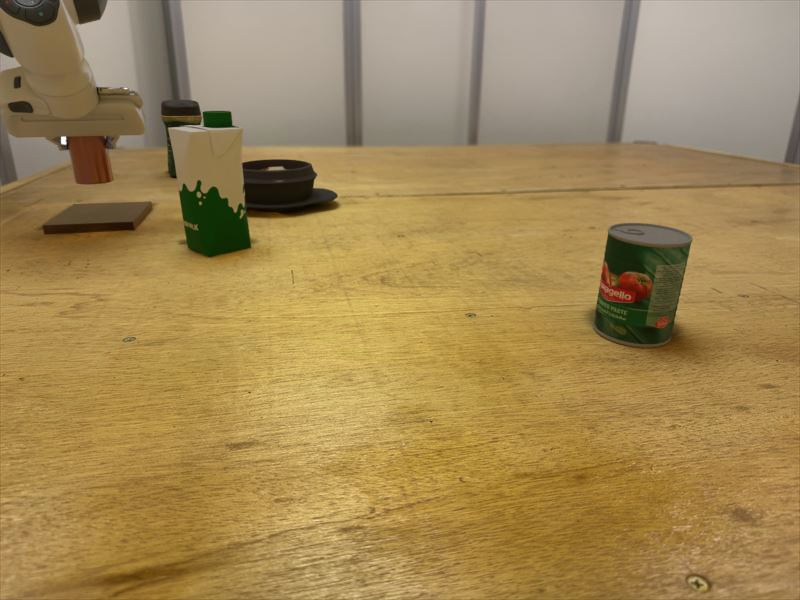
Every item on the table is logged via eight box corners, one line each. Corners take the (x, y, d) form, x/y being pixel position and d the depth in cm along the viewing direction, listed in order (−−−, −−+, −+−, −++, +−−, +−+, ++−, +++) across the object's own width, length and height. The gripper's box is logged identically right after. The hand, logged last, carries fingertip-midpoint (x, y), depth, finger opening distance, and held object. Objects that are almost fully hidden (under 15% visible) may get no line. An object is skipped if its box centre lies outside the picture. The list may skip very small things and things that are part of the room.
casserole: (213, 222, 100) (207, 175, 97) (211, 200, 116) (206, 160, 113) (347, 213, 107) (346, 169, 104) (328, 194, 123) (326, 155, 120)
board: (44, 234, 92) (42, 225, 91) (75, 211, 106) (73, 203, 105) (134, 230, 94) (132, 221, 94) (152, 208, 109) (151, 201, 108)
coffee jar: (171, 179, 138) (160, 100, 131) (167, 174, 144) (156, 99, 137) (211, 176, 142) (202, 100, 135) (205, 171, 149) (196, 98, 142)
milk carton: (259, 248, 86) (247, 112, 78) (204, 260, 80) (185, 115, 72) (231, 236, 91) (217, 109, 84) (178, 247, 85) (158, 111, 78)
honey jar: (70, 185, 94) (56, 117, 90) (81, 178, 99) (68, 114, 95) (108, 184, 95) (96, 117, 91) (117, 178, 101) (105, 114, 96)
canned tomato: (681, 330, 60) (703, 232, 56) (656, 355, 54) (678, 249, 50) (609, 310, 65) (625, 218, 60) (580, 331, 59) (595, 232, 55)
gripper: (138, 73, 88) (151, 131, 100) (-13, 71, 81) (21, 133, 94) (140, 104, 86) (154, 159, 98) (-15, 105, 79) (21, 164, 91)
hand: (88, 146), depth 96 cm, fingers closed on honey jar, 6 cm apart
